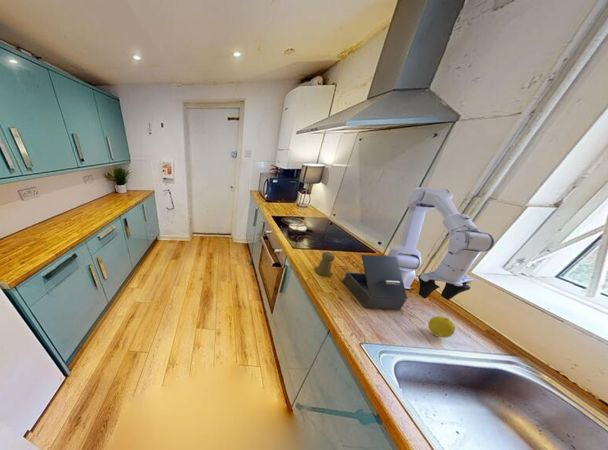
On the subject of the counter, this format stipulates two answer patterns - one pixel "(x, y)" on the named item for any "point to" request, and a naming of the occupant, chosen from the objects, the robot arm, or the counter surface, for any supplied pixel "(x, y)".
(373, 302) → the grey hinged box
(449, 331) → the lemon
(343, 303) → the counter surface
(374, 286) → the lid
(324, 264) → the dark chess pawn
